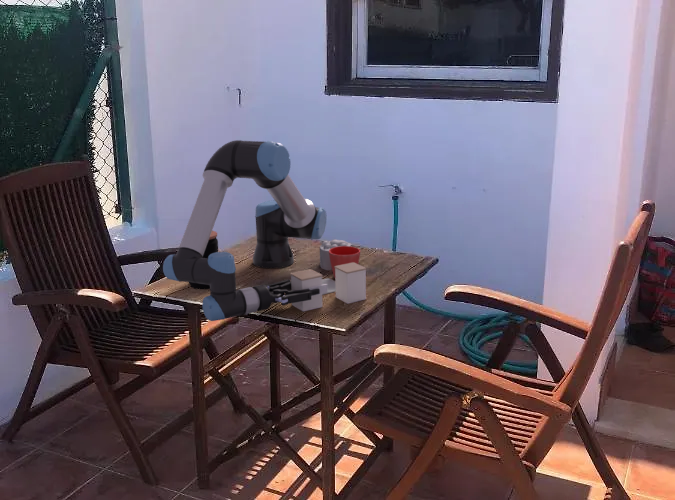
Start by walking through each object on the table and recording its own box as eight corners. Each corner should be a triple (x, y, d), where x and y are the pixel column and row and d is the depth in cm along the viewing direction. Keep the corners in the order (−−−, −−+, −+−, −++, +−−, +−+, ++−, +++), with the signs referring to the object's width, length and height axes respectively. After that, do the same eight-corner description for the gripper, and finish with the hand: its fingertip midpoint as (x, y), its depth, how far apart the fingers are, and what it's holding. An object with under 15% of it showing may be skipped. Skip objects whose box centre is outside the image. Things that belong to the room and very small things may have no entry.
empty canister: (334, 297, 235) (334, 266, 232) (353, 292, 239) (353, 262, 236) (347, 303, 229) (346, 272, 226) (366, 299, 233) (366, 268, 230)
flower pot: (357, 282, 249) (357, 255, 246) (326, 280, 251) (325, 253, 248) (362, 272, 258) (362, 246, 256) (332, 271, 261) (332, 245, 258)
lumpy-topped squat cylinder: (354, 261, 271) (354, 239, 269) (339, 271, 260) (339, 248, 258) (329, 258, 276) (329, 236, 273) (313, 268, 265) (313, 245, 262)
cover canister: (291, 304, 229) (290, 273, 226) (311, 300, 233) (310, 268, 230) (302, 311, 223) (301, 279, 220) (323, 306, 227) (322, 275, 224)
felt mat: (298, 285, 246) (298, 284, 246) (328, 279, 252) (328, 278, 252) (316, 295, 236) (316, 294, 236) (347, 288, 243) (347, 287, 242)
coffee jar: (226, 281, 252) (223, 231, 246) (211, 291, 242) (207, 239, 237) (198, 278, 255) (195, 228, 250) (183, 288, 245) (178, 236, 240)
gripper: (240, 301, 226) (304, 287, 238) (270, 321, 210) (337, 305, 222) (239, 278, 224) (304, 265, 236) (269, 297, 208) (337, 282, 220)
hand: (320, 284), depth 229 cm, fingers closed on cover canister, 7 cm apart
